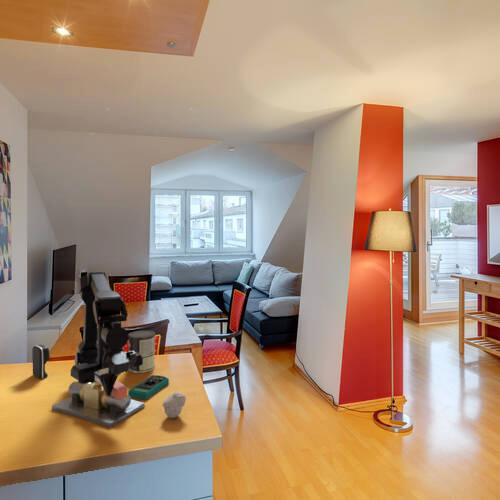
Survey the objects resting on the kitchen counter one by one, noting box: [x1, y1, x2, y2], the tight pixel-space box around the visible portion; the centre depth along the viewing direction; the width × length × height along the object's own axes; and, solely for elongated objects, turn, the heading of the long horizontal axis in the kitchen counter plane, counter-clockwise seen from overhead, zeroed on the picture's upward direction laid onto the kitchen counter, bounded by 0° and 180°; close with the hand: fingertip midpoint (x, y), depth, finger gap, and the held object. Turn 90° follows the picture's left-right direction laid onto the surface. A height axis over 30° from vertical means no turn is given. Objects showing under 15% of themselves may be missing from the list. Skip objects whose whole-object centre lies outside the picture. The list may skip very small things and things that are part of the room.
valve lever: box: [95, 375, 128, 399], centre depth 110 cm, size 16×3×3 cm, turn 47°
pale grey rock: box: [162, 391, 187, 419], centre depth 110 cm, size 6×7×7 cm
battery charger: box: [31, 344, 51, 379], centre depth 140 cm, size 7×4×11 cm, turn 52°
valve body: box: [51, 380, 146, 428], centre depth 115 cm, size 24×14×8 cm, turn 65°
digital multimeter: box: [127, 374, 170, 401], centre depth 129 cm, size 7×15×3 cm, turn 161°
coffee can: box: [128, 329, 156, 374], centre depth 149 cm, size 10×10×14 cm
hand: (108, 395), depth 105 cm, fingers closed
